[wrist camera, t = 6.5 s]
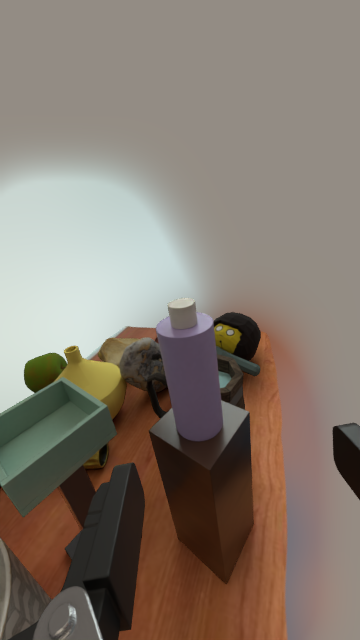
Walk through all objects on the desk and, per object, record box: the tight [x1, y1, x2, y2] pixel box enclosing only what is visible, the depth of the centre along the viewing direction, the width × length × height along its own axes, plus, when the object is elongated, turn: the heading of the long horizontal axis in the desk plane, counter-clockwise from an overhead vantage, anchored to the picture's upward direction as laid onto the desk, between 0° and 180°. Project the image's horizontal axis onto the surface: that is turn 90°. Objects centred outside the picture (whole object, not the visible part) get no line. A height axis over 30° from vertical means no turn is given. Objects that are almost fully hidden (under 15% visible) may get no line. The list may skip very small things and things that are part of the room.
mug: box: [146, 354, 245, 418], centre depth 50 cm, size 20×14×15 cm
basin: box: [0, 377, 142, 560], centre depth 31 cm, size 10×10×26 cm
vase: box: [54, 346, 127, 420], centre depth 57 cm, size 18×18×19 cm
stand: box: [149, 400, 254, 584], centre depth 31 cm, size 8×8×22 cm
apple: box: [24, 353, 67, 393], centre depth 72 cm, size 11×11×11 cm
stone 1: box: [98, 338, 139, 369], centre depth 77 cm, size 17×18×10 cm
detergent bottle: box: [156, 298, 223, 441], centre depth 24 cm, size 5×5×14 cm
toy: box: [214, 312, 261, 377], centre depth 68 cm, size 25×14×30 cm
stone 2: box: [119, 338, 166, 392], centre depth 62 cm, size 11×21×10 cm
